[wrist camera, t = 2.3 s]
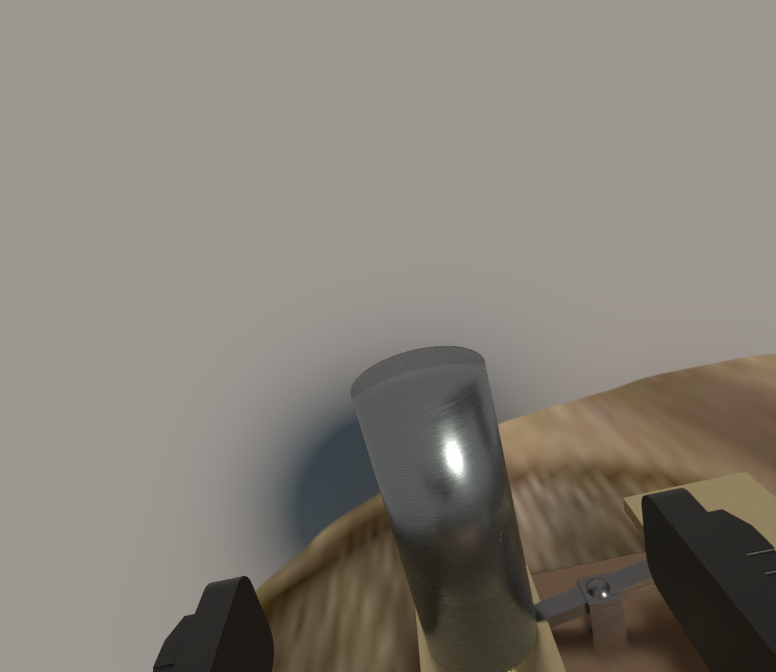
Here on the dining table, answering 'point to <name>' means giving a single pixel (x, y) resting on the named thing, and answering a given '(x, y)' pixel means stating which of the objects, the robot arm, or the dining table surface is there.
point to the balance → (623, 599)
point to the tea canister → (449, 504)
